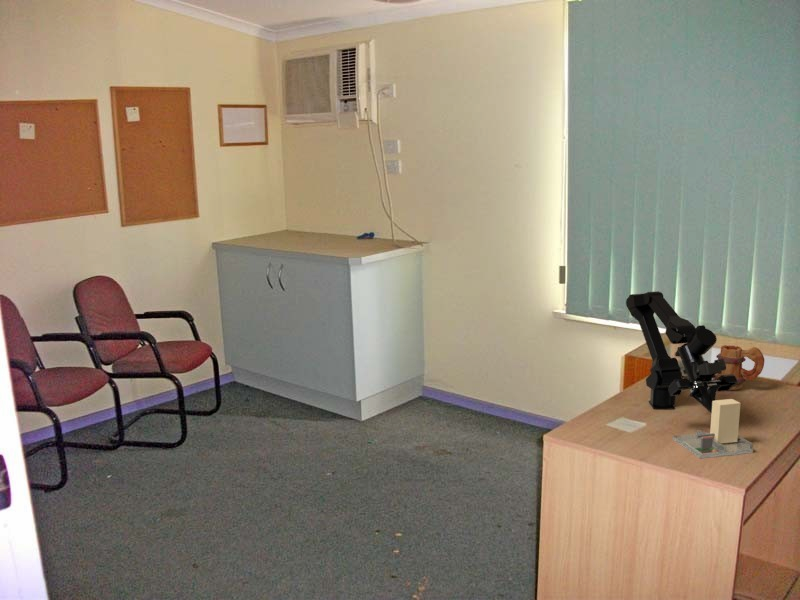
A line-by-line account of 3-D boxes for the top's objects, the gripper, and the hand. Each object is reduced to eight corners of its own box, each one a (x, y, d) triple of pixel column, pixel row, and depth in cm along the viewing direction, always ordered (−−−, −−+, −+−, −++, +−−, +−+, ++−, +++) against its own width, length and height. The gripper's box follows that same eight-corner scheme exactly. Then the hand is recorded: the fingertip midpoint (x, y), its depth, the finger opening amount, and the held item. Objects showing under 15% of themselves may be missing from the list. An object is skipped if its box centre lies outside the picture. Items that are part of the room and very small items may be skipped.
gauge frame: (672, 439, 207) (673, 431, 207) (722, 434, 210) (723, 426, 210) (700, 458, 195) (700, 449, 194) (752, 452, 198) (753, 443, 197)
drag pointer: (700, 448, 197) (701, 436, 196) (710, 447, 197) (711, 435, 197) (701, 449, 196) (702, 437, 196) (712, 447, 197) (713, 436, 196)
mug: (711, 389, 248) (714, 345, 245) (716, 382, 254) (719, 340, 251) (759, 397, 239) (762, 352, 236) (763, 390, 246) (767, 346, 243)
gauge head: (691, 439, 203) (694, 401, 201) (728, 436, 205) (730, 398, 203) (700, 445, 199) (703, 406, 197) (737, 441, 201) (740, 403, 199)
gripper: (676, 351, 206) (696, 403, 198) (736, 347, 209) (758, 397, 201) (659, 370, 215) (678, 420, 207) (717, 365, 219) (738, 414, 211)
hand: (713, 412), depth 206 cm, fingers closed
